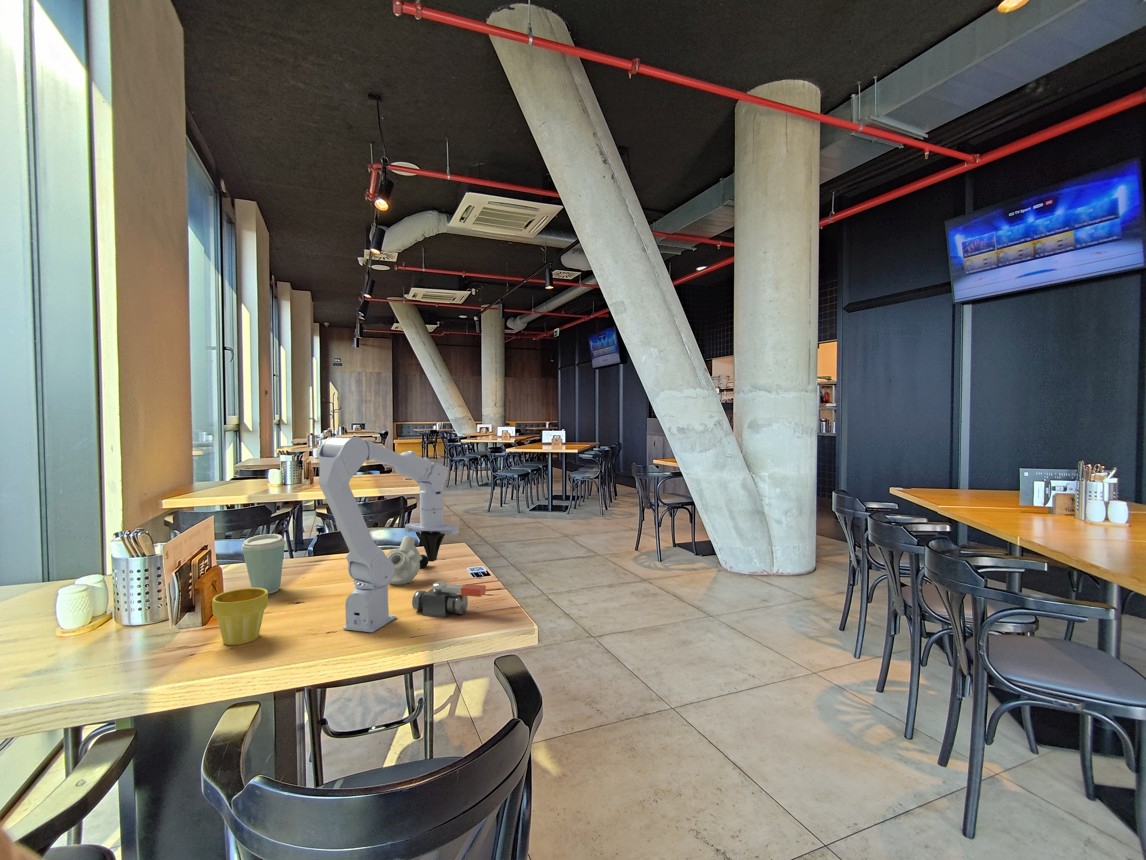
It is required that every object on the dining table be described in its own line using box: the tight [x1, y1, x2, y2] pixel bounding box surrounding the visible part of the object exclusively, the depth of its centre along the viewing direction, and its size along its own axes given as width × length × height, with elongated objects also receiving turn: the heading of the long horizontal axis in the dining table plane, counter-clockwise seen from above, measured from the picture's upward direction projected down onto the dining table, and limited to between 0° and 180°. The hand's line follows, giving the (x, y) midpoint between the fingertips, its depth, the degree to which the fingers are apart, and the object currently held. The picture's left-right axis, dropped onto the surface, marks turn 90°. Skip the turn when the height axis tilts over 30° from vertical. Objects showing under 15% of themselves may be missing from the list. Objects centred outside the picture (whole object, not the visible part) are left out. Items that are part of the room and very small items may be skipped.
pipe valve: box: [411, 588, 469, 618], centre depth 133 cm, size 6×13×5 cm, turn 74°
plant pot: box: [211, 587, 269, 646], centre depth 118 cm, size 10×10×10 cm
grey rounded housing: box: [385, 535, 429, 586], centre depth 163 cm, size 10×20×15 cm
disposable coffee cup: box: [240, 533, 286, 595], centre depth 150 cm, size 11×11×15 cm
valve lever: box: [432, 580, 487, 598], centre depth 132 cm, size 13×3×2 cm, turn 74°
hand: (432, 560), depth 141 cm, fingers closed
